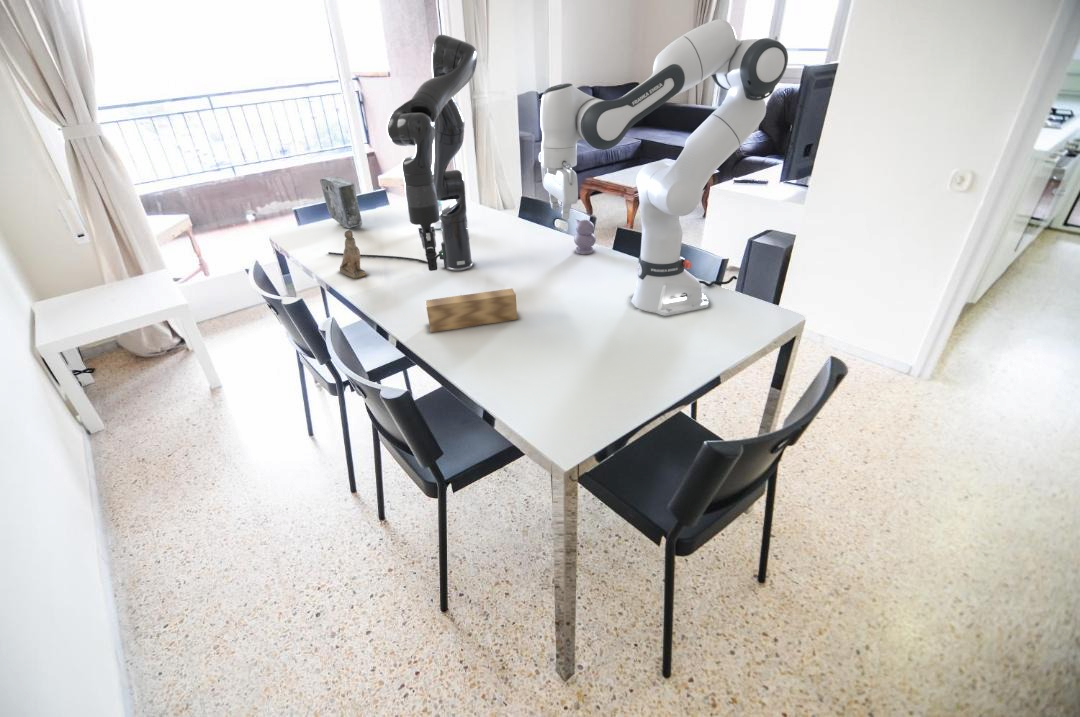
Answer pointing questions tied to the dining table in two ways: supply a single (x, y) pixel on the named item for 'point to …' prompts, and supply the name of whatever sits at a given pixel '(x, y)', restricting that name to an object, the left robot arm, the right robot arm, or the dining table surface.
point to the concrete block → (341, 201)
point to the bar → (471, 310)
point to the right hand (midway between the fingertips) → (559, 213)
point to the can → (441, 207)
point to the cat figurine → (584, 236)
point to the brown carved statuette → (351, 258)
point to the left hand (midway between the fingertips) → (432, 264)
